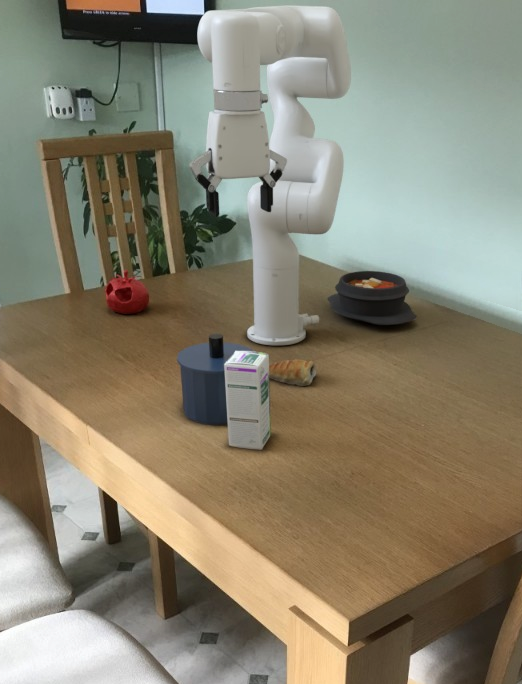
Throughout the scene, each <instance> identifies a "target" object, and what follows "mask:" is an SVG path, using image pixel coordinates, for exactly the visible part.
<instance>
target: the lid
mask: <svg viewBox="0 0 522 684" xmlns="http://www.w3.org/2000/svg"><path fill="white" fill-rule="evenodd" d="M235 351H254V350H253V349H252V348H250V347H248V346H246V345H242V344H238V343H234V342H226V341H225V342H224V335H222V334H220V333H212V334H209V335H208V342H204V343H203V342H202V343H198V344H194V345H190V346H187V347H185V348H184V349H182V350H180V351H179V352H178V354H177V356H176V362H177V364H178V365H179V366H182V367H183V368H185V369H188V370H191V371H194V372H200V373H209V374H221V373H225V368H224V364H225V363H226V362H227V360H228V359H229V358H230V357H231V356H232V355H233V354H234V352H235Z"/></svg>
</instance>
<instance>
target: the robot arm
mask: <svg viewBox="0 0 522 684" xmlns="http://www.w3.org/2000/svg"><path fill="white" fill-rule="evenodd" d="M196 37H197V45H198V48H199V51H200V53H201V55H202V56H203V58H204V59H205V60H206V61H208V62H209V63H211V65H212V87H213V109H214V110H212V111H211V110H210V111H209V113H208V118H207V127H206V128H207V129H206V142H205V143H206V144H205V152H203V153H202V154H201V155H199V156H197V157H196V158H194V159H193V160H192V161H190V162H189V163H188V167H189V169H190V171H191V173H192V175H193V177H194V180H195V181H196V182H197V183H198V184H200V186H202V188H203V189H204V190H205V203H206V210H207V211H208V214H209V215H211V216H213V217H215V218H219V216H220V195H219V192H218V191H217V188H218V186H219V185H220V183H222V180H233V179H249V178H250V179H251V178H258V179H260V181H257V182H256V183H254V184H253V185H252V186H251V187H250V189H249V190H248V193H247V196H246V208H247V215H248V220H249V226H250V233H251V243H252V244H251V245H252V277H253V278H252V280H253V281H252V282H253V283H252V284H253V324H252V325H251V326H250V327H249V328H248V329H247V331H246V335H247V338H248V339H249V340H250V341H252V342H253V343H256V344H259V345H260V344H261V345H264V346H273V347H274V346H275V347H276V346H277V347H279V346H291V345H295V344H298V343H300V342H302V341H303V340H305V338H306V334H307V333H306V329H305V328H306V327H307V326H309V325H310V326H313V325H318V324H320V317H319V315H318V314H316V315H314V314H313V315H309V314H308V313H300V312H299V310H300V306H299V305H300V304H299V303H300V253H299V250H298V247H297V245H296V243H295V242H294V240H293V238H292V237H291V236H290V234H303V235H324V234H326V233H328V232H329V231H330V229H331V228H332V226H333V223H334V220H335V215H336V210H337V205H338V201H339V196H340V190H341V186H342V182H343V177H344V176H343V175H344V166H345V165H344V164H345V163H344V153H343V150H342V147H341V146H340V144H339V143H338V142H336V141H334V140H333V139H328V138H315V137H314V136H315V131H316V125H315V122H314V119H313V117H312V116H311V114H310V113H309V112H308V110H307V108H306V107H305V106H304V105H303V104H302V103H301V102H300V101H299V100H298V98H305V99H326V100H327V99H328V100H336V99H341V98H343V97H345V96H346V95H347V93H348V91H349V89H350V86H351V80H352V69H351V60H350V55H349V49H348V44H347V38H346V37H347V36H346V33H345V29H344V25H343V22H342V19H341V17H340V15H339V14H338V12H337V10H336V9H334V8H333V7H331V6H318V5H317V6H315V5H271V6H270V5H269V6H258V7H248V8H237V9H217V10H216V9H214V10H207V11H206V12H204V13H203V15H202V16H201V18H200V20H199V23H198V26H197V35H196ZM261 66H267V67H266V82H267V83H266V84H267V92H268V94H267V93H262V90H261ZM268 102H269V103H270V107H271V111H272V115H273V126H272V131H271V134H270V139H269V132H268V125H267V120H266V114H265V111H262V108H263V104H268ZM204 166H206V167H205V168H206V171H207V173H208V175H207V177H206V176H205V175H204V173H203V171H202V167H204Z"/></svg>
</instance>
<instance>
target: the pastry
mask: <svg viewBox="0 0 522 684" xmlns="http://www.w3.org/2000/svg"><path fill="white" fill-rule="evenodd" d="M316 375H317V369H316V364H315V362H314V361H313V360H310V361H308V360H303V359H298V358H295V359H292V360H289V359H287V360H281V361H280V362H273V363H272V364H269V379H271V380H274V381H276V382H280V383H282V384H283V383H284V384H287V385H291V386H292V385H296V386H299V387H306V386H310V385H311V384H312V382H313V379H314V378H315V377H316Z"/></svg>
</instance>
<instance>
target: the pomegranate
mask: <svg viewBox="0 0 522 684" xmlns="http://www.w3.org/2000/svg"><path fill="white" fill-rule="evenodd" d="M128 275H129V269H124V270H123V276H121V275H119V274H116V275H115V277H112V278H108V279H107V280H108V283H107V284H106V286H105V289H104V293H105V297H106V305H107V307H108V309H110V310H111V311H112V312H115V313H119V314H123V315H131V314H138V313H140V312H141V311H144V310H145V309H147V307H148V306H149V304H150V293H149V291H148V289H147V287H146V285H144V283H143V282H142V281H140V280H138V279H136V278H142V275H135V276H132V277H129V276H128ZM117 277H118V278H117Z"/></svg>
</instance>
